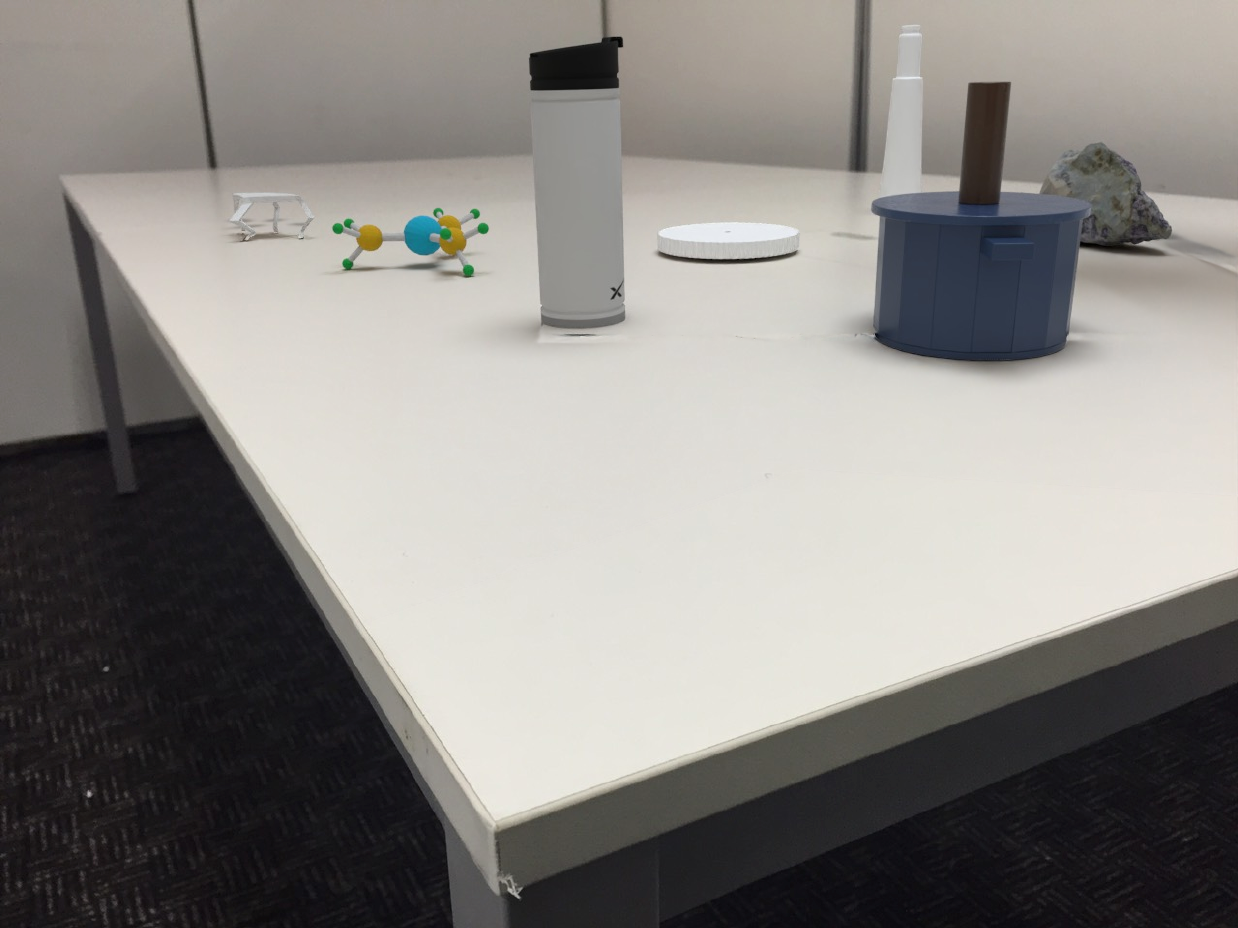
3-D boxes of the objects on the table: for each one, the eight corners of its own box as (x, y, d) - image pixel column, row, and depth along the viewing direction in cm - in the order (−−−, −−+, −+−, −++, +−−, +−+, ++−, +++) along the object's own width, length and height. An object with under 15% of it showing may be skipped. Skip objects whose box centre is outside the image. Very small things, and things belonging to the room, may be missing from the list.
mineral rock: (1174, 255, 102) (1191, 146, 99) (1059, 256, 103) (1072, 148, 99) (1124, 235, 114) (1137, 137, 111) (1021, 237, 115) (1031, 139, 112)
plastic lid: (644, 268, 102) (643, 241, 101) (672, 245, 115) (672, 221, 114) (792, 271, 99) (792, 243, 98) (804, 247, 112) (805, 223, 111)
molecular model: (321, 268, 106) (394, 288, 95) (315, 218, 105) (389, 232, 94) (463, 249, 116) (544, 265, 105) (460, 203, 114) (541, 214, 103)
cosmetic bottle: (934, 213, 134) (948, 24, 126) (898, 218, 131) (910, 24, 124) (899, 209, 139) (911, 26, 131) (864, 213, 136) (874, 26, 128)
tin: (1025, 309, 82) (1038, 195, 79) (1107, 371, 65) (1127, 230, 62) (858, 310, 83) (864, 197, 80) (896, 372, 66) (905, 232, 63)
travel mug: (642, 329, 78) (637, 35, 71) (556, 339, 76) (543, 36, 69) (611, 313, 84) (604, 38, 77) (530, 322, 81) (515, 39, 75)
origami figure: (208, 242, 125) (202, 199, 123) (241, 232, 133) (235, 191, 131) (306, 242, 124) (301, 198, 122) (333, 232, 131) (329, 190, 130)
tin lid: (1052, 206, 77) (1067, 78, 74) (1121, 235, 64) (1143, 80, 61) (858, 209, 78) (864, 83, 75) (887, 237, 65) (897, 86, 62)
